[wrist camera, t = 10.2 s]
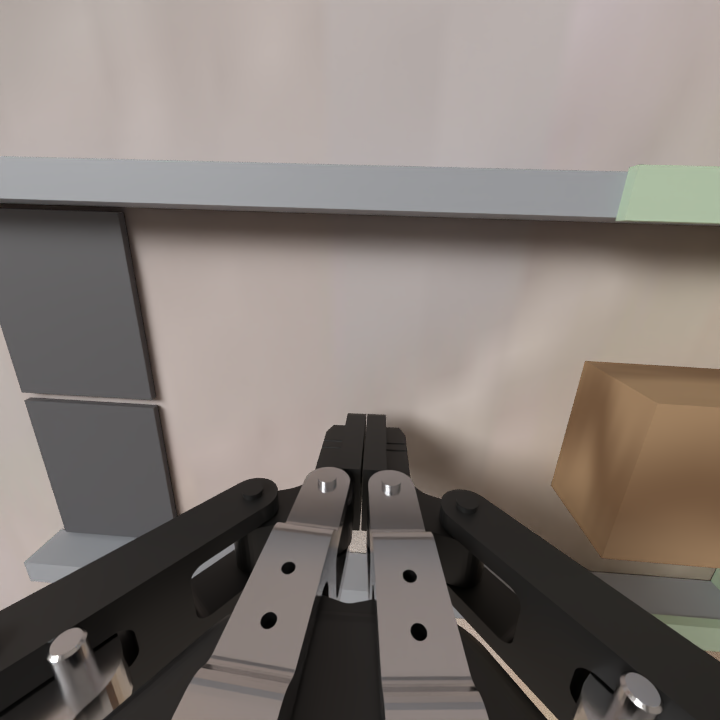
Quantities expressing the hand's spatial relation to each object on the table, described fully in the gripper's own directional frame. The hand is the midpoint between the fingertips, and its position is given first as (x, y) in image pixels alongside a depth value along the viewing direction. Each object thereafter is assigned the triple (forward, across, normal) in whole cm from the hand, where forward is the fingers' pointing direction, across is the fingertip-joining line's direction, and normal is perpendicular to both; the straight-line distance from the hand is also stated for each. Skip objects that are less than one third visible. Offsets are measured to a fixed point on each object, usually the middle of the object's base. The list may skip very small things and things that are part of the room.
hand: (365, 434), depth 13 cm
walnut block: (+2, -12, 0) cm, 12 cm away
